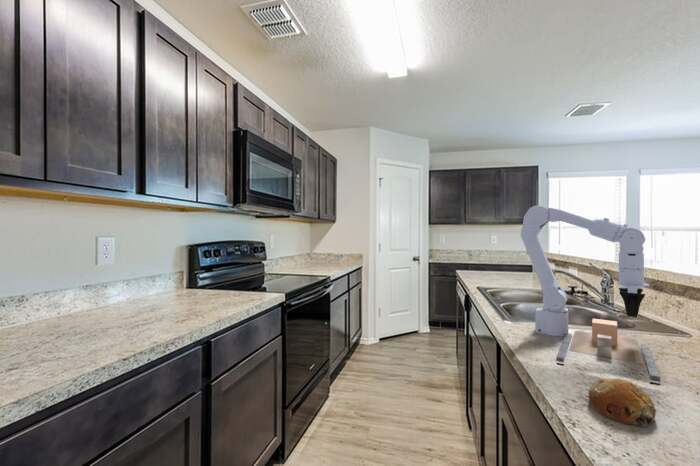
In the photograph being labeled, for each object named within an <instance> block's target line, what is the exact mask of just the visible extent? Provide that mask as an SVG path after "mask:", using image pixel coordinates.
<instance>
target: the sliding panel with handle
mask: <svg viewBox="0 0 700 466" xmlns="http://www.w3.org/2000/svg"><path fill="white" fill-rule="evenodd" d="M568 349H569V350H568V351H569V352H574V353H579V354H584V355H590V356H596V357H601V358H606V359H607V358H608V359H613V360H616V361H617V360H618V361H624V362H629V363H635V364H640V365H645V361H644V357H643V354H642V352H641V347H640V345H639V342H638V339H634V338H627V337H622V336H617V346H613V345H612V343H611V336H606V335H599V334H598V337H597V343H595V342H592V332H586V331H579V330H574V333H573V335H572V338H571V341H570V345H569V348H568Z"/></svg>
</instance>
